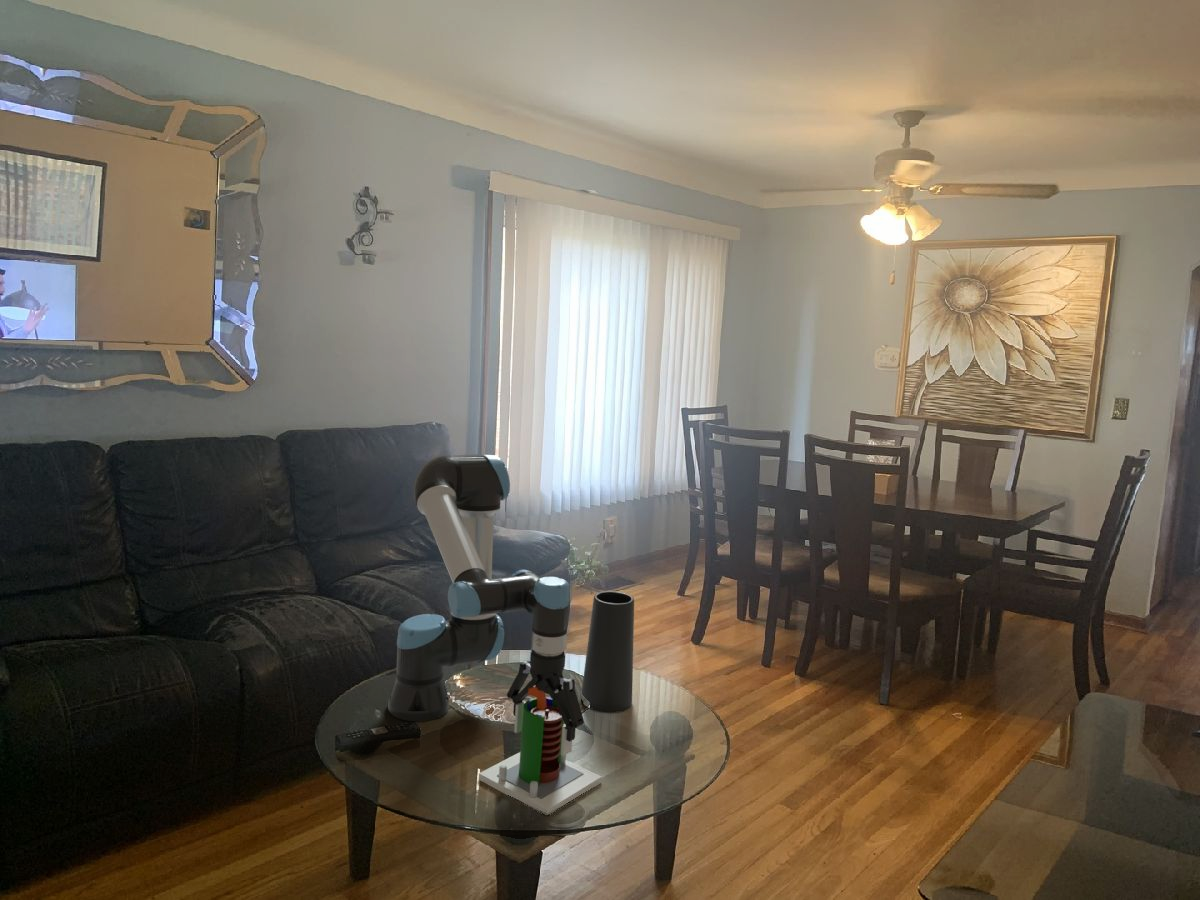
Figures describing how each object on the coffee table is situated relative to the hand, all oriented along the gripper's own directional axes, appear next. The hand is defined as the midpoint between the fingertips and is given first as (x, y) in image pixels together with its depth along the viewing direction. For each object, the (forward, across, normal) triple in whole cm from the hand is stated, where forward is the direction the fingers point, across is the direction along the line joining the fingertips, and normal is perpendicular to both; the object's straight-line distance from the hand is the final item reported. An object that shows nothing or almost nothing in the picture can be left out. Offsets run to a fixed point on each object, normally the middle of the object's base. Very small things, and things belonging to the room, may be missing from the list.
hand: (542, 741), depth 194 cm
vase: (+10, -14, +42) cm, 45 cm away
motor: (+8, 0, 0) cm, 8 cm away
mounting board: (+9, 0, 0) cm, 9 cm away
